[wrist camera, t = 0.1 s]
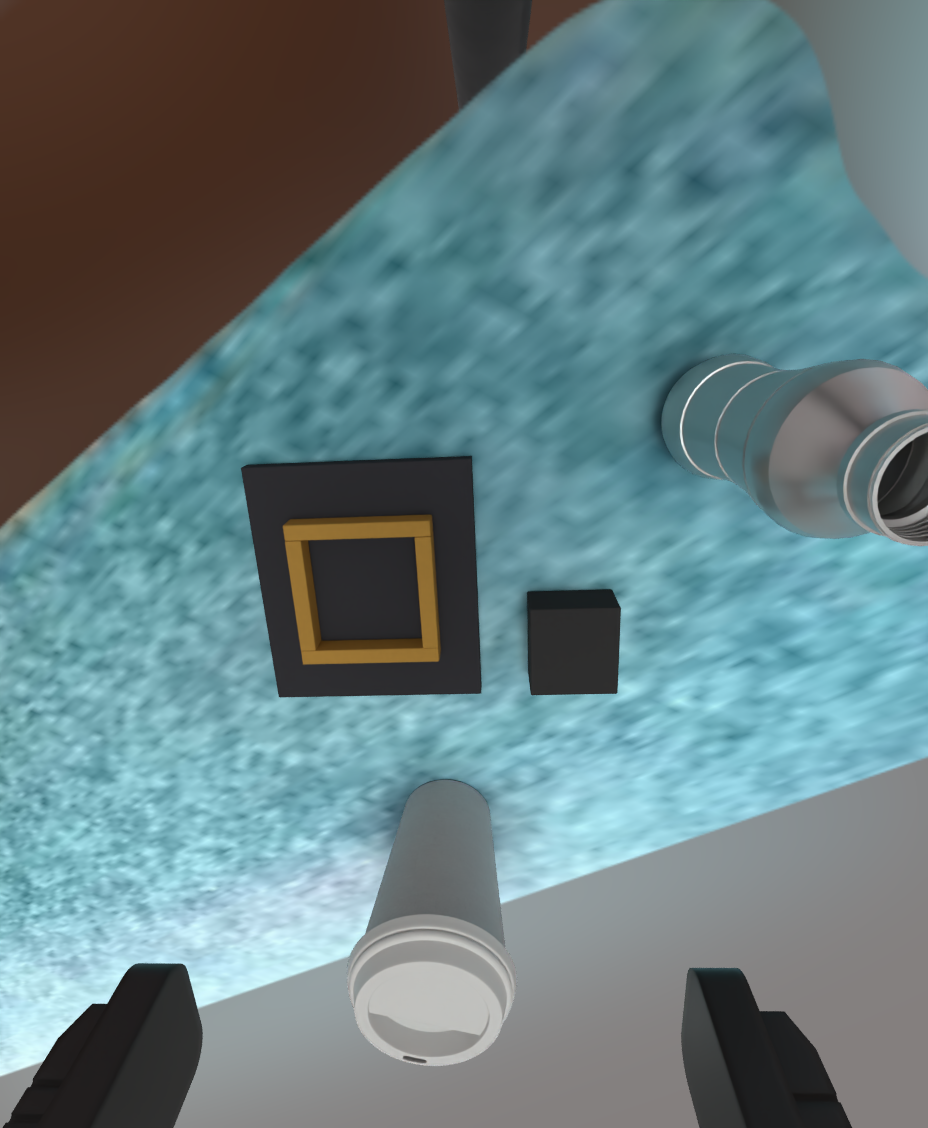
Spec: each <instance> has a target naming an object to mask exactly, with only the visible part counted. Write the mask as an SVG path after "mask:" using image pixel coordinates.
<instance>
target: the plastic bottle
mask: <svg viewBox="0 0 928 1128" xmlns="http://www.w3.org/2000/svg"><path fill="white" fill-rule="evenodd" d="M661 428H662V434H663V438H664V441H665V443H666V446H667V448H668V450H669V452H670V453H671V455H672V456H673V458H674V459H675V461H676V462H677V463H678V464H679V465H680V466H682V467H683V468H684V469H685V470H687V471H689V472H691V473H692V474H695V475H698V476H701V477H705V478H710V479H718V480H728V481H731V482H733V483H735V484H736V485H738V486H739V487H740V488H742V489H743V490H744V491H745V492H746V493H747V494H748V495H749V496H750V497H751V498H752V500H753V501H754V502H755V503H756V504H757V505H758V507H759V508H760V509H761V510H762V511H763V512H764V513H765V514H766V515H768V516H769V517H770V518H771V519H772V520H774V521H775V522H776V523H777V524H778V525H780V526H782V527H783V528H785V529H787V530H789V531H790V532H793V533H796V534H799V535H802V536H805V537H813V538H824V539H839V538H851V537H855V536H859V535H863V534H867V533H870V532H872V533H875V534H878V535H882V536H886V537H888V538H889V539H891V540H893V541H896V542H899V543H902V544H907V545H914V546H928V389H927V388H926V387H925V386H924V385H923V384H922V383H921V382H919V381H918V380H917V379H915V378H914V377H912V376H911V375H909V374H908V373H906V372H905V371H903V370H902V369H900V368H899V367H897V366H894V365H891V364H888V363H886V362H883V361H878V360H868V359H857V360H846V361H836V362H830V363H826V364H822V365H817V366H813V367H809V368H805V369H800V370H780V369H777V368H774V367H773V366H771V365H769V364H768V363H766V362H764V361H762V360H759V359H757V358H754V357H751V356H748V355H741V354H728V355H721V356H717V357H714V358H711V359H709V360H706V361H704V362H702V363H700V364H699V365H697V366H695V367H693V368H691V369H690V370H689V371H688V372H686V373H685V374H684V375H683V376H682V377H681V378H680V379H679V380H678V381H677V382H676V383H675V385H674V386H673V388H672V389H671V391H670V392H669V394H668V396H667V399H666V401H665V404H664V407H663V412H662V420H661Z"/></svg>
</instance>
